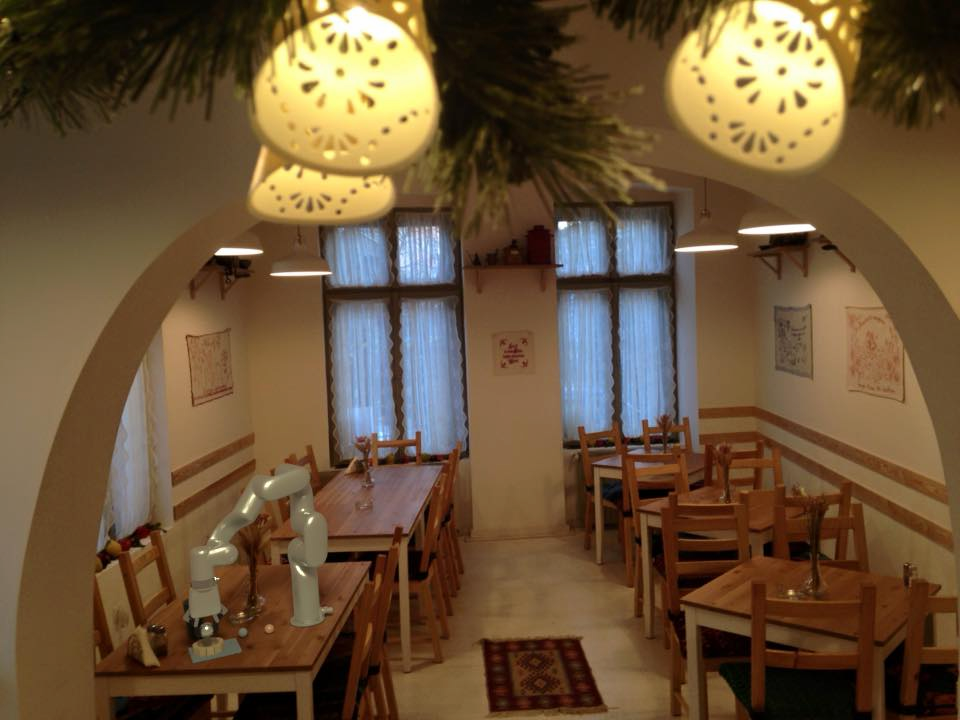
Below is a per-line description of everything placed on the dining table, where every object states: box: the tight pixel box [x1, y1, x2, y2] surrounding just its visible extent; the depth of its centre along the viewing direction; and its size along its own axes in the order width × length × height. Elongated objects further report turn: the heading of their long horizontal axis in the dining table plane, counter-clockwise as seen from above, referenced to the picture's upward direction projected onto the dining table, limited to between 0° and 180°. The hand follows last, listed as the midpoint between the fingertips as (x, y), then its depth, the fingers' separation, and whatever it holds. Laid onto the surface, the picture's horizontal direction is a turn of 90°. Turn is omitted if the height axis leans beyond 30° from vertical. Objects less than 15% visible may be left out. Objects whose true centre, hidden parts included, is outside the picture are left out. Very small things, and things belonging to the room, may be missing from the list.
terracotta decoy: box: [264, 624, 275, 635], centre depth 300 cm, size 3×3×3 cm
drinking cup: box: [181, 582, 204, 641], centre depth 300 cm, size 8×8×20 cm
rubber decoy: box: [237, 627, 248, 638], centre depth 298 cm, size 3×3×3 cm
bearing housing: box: [187, 636, 243, 664], centre depth 286 cm, size 16×12×4 cm
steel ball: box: [200, 621, 214, 639], centre depth 285 cm, size 5×5×5 cm
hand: (206, 634), depth 285 cm, fingers closed on steel ball, 5 cm apart
